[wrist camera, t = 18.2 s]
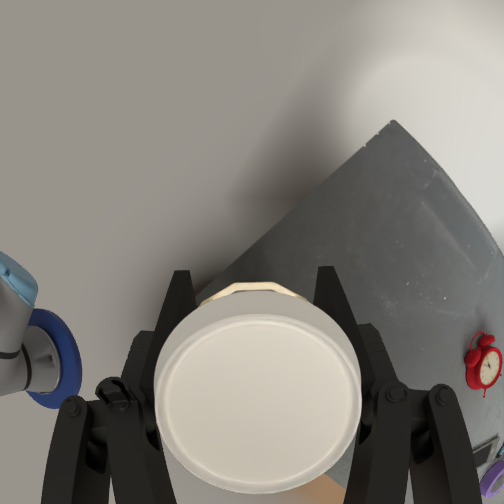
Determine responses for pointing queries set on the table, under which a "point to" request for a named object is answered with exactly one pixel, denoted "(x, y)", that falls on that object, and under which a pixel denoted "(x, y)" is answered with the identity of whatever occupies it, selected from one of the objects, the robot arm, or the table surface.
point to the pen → (500, 452)
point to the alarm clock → (483, 364)
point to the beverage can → (257, 392)
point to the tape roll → (493, 480)
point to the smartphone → (485, 453)
